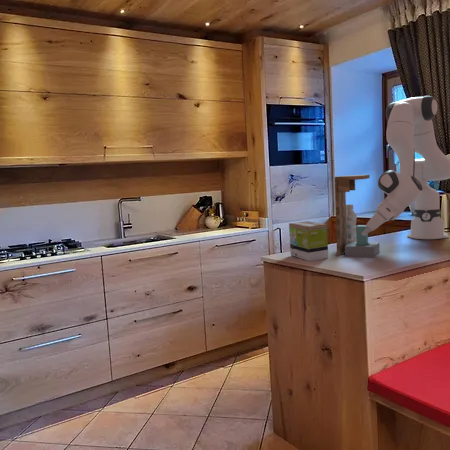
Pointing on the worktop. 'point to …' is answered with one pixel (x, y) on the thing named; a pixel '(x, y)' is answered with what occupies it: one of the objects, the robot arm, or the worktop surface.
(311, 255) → the tea box
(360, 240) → the peg
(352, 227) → the plastic bottle
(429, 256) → the worktop surface
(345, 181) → the wooden post stand
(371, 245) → the socket block
